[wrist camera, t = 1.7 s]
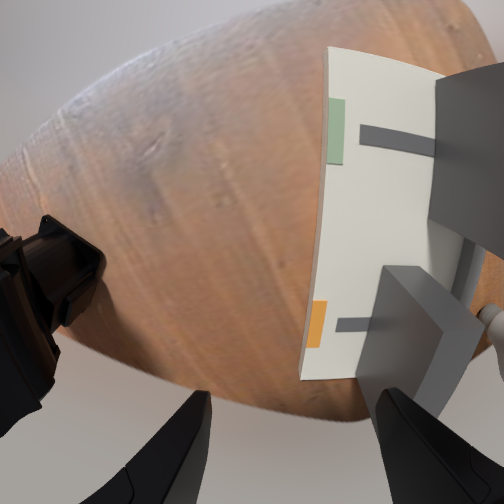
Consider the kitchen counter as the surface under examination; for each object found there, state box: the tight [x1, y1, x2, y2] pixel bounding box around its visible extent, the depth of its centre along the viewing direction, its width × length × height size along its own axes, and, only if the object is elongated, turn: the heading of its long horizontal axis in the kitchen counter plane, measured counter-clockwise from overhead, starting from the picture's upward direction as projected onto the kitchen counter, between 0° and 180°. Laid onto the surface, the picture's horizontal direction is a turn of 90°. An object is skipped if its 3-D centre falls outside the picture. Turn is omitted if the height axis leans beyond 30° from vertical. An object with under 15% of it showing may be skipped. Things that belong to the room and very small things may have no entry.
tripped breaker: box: [355, 265, 485, 444], centre depth 16 cm, size 3×10×8 cm, turn 178°
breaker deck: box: [298, 46, 486, 380], centre depth 18 cm, size 13×24×3 cm, turn 178°
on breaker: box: [428, 62, 504, 260], centre depth 11 cm, size 3×10×8 cm, turn 178°
